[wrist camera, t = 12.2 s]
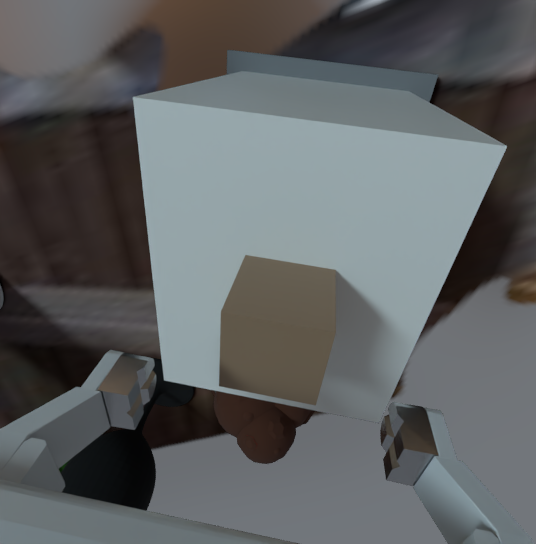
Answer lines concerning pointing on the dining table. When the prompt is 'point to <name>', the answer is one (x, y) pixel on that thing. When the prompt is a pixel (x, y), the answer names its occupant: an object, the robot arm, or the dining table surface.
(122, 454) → the wine glass
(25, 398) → the dining table surface
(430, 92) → the mat
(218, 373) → the cover
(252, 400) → the ice cream bowl
